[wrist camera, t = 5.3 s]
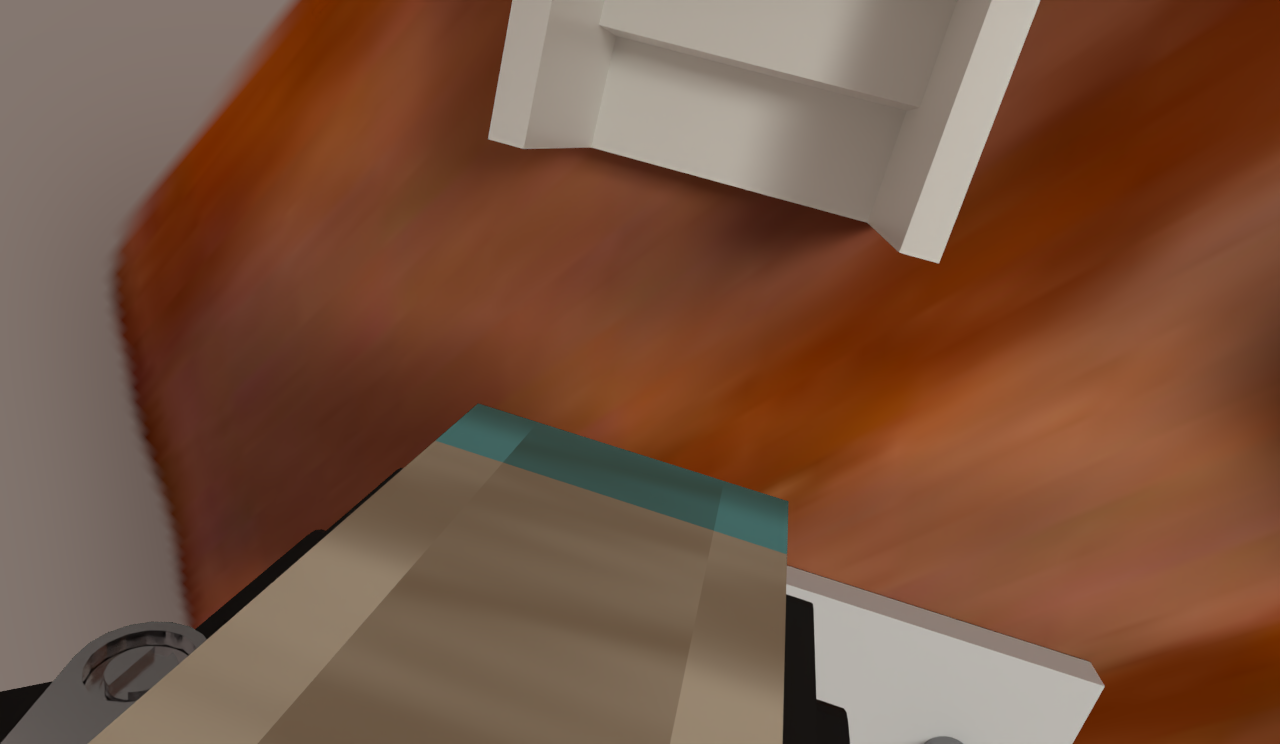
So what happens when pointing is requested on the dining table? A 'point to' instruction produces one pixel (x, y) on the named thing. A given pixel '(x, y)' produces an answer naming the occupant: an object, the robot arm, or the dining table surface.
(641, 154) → the white stepped block
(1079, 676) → the pin board
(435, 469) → the sleeve
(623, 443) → the dining table surface
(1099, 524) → the dining table surface
